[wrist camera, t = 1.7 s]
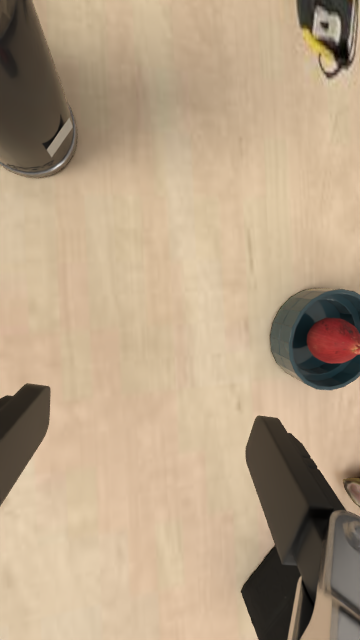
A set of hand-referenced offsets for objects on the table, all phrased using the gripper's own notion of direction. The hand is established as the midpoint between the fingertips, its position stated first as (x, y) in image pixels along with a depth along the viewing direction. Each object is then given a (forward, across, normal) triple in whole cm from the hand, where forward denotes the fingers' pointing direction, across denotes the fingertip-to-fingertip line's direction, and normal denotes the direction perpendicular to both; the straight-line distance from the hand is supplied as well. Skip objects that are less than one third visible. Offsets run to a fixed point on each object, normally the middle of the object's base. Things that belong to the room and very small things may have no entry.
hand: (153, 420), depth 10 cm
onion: (+25, -22, +2) cm, 33 cm away
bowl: (+25, -22, +2) cm, 33 cm away
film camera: (+19, -27, +40) cm, 52 cm away
